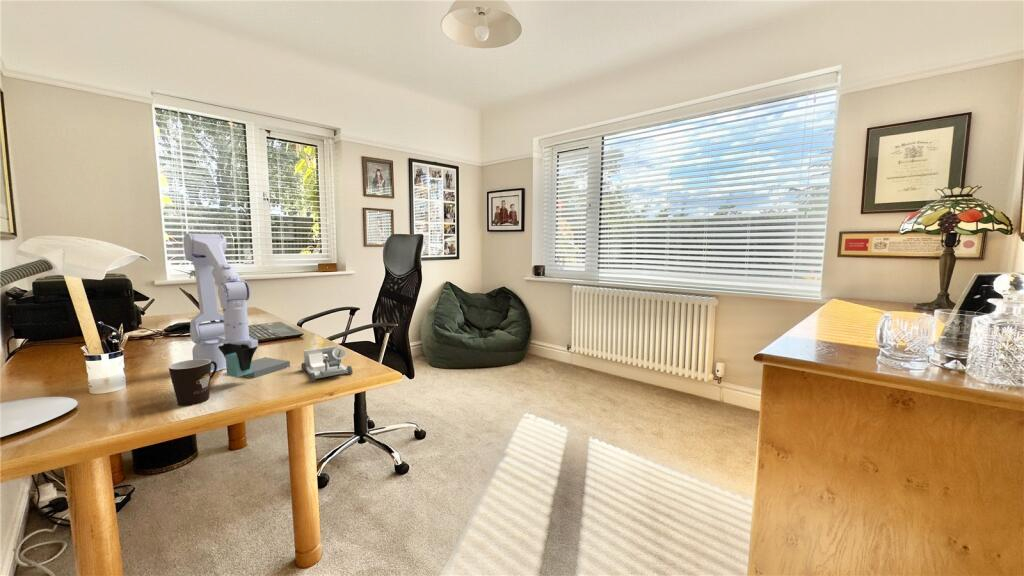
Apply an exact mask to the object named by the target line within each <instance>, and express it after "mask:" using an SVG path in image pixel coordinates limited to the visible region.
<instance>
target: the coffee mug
mask: <svg viewBox="0 0 1024 576" xmlns="http://www.w3.org/2000/svg"><path fill="white" fill-rule="evenodd" d="M211 363H212V364H214V371H213V372H212V373H211ZM216 370H217V364H216V362H214V361H211V360H209V359H195V360H193V359H190V360H189V359H188V360H184V361H183V360H182V361H179V362H175V363H172V364H170V365H168V371H169V376H170V379H171V383H172V387H173V390H174V391H173V392H174V395H175V398H176V402H177V405H178V406H179V405H180V406H179V407H187V406H188V407H189V406H194V405H195V406H196V405H199V404H202V403H205V402H207V401H209V399H210V390H211V389H210V387H211V380H212V378H213V377H214V376H215V374H216V372H217V371H216Z"/></svg>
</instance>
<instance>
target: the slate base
mask: <svg viewBox="0 0 1024 576" xmlns="http://www.w3.org/2000/svg"><path fill="white" fill-rule="evenodd" d="M287 367H289V368H291V362H290V361H289V360H285V359H284V360H283V359H278V358H272V357H261V358H257V359H252V368H253V373H249V374H246V375H243V376H242V377H246V376H248V377H247V378H251V377H252V379H256V378H259V377H263V376H266V375H269V374H272V373H276V372H279V371H281V370H285V369H288V368H287Z"/></svg>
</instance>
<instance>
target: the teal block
mask: <svg viewBox="0 0 1024 576" xmlns="http://www.w3.org/2000/svg"><path fill="white" fill-rule="evenodd" d="M225 356H226V369H225V370H226V376H230V377H235V378H239V377H244V376H243V375H246V374H249V373H253V368H252V361H253V360H252V361H251V365H250V369H249V370H245V371H241V369H240V364H239V359H238V356H237V354H236V352H235V353H231V354H227V355H225Z"/></svg>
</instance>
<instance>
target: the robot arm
mask: <svg viewBox="0 0 1024 576" xmlns="http://www.w3.org/2000/svg"><path fill="white" fill-rule="evenodd" d="M227 247H228V243H227V237H226V236H225V235H224V234H223V233H190V232H188V233H185V235H184V237H183V249H184V257H185V260H186V261H190V262H192V264H193V267H194V274H195V275H194V276H195V282H196V288H197V289H196V290H197V299H198V305H199V306H198V307H199V313H198V314H197V315H196V316H194V317H192V319H191V320H190V327H189V333H190V334H189V336H190V340H191V341H192V342H193V343H194V344H195V345H194V346H193V347H192V351H191V352H192V353H191V354H192V360H195V359H209V360H211V361H214V362H216V364H217V370H216V372H219V371H222V370H227V369H226V356H225V355H227V354H231V353H235V352H236V354H237V356H238V359H239V364H240V369H241V371H245V370H249V369H250V365H251V361H253V357H254V354H255V352H256V351H257V349H258V347H259V340H258V339H255V338H253V337H252V336H250V333H249V332H250V329H249V328H250V327H249V317H248V303H247V301H249V299H250V298H251V297H250V296H251V294H250V293H251V289H250V286H249V284H248V282H247V281H246V280H244V279H241V278H240V276H239V274H238V272H237V271H236V270H237V269H236V268H235V266H234V265H232V264H231V263H228V261H227V258H226V255H225V254H226V251H227ZM216 285H217V289H216ZM217 296H218V298H217ZM218 299H219V302H220V308H221V309H222V312H220V311H219V307H218ZM213 371H214V364H212V363H211V374H212V373H213Z"/></svg>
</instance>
